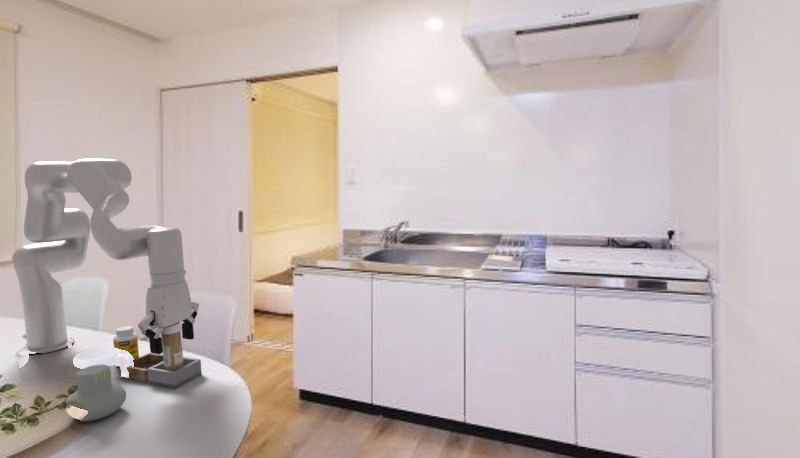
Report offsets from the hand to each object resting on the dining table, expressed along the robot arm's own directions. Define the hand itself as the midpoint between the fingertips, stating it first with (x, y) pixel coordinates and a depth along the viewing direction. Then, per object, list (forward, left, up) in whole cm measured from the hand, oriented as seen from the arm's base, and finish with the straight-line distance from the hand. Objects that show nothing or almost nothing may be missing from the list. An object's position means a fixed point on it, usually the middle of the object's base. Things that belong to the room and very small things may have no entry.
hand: (173, 345), depth 110 cm
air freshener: (-3, -18, -9) cm, 20 cm away
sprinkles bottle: (0, 0, -8) cm, 8 cm away
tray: (0, 0, -9) cm, 9 cm away
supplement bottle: (-20, +3, -9) cm, 22 cm away
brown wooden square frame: (-10, +1, -9) cm, 13 cm away
